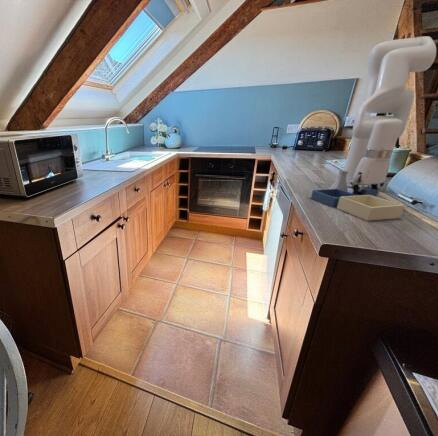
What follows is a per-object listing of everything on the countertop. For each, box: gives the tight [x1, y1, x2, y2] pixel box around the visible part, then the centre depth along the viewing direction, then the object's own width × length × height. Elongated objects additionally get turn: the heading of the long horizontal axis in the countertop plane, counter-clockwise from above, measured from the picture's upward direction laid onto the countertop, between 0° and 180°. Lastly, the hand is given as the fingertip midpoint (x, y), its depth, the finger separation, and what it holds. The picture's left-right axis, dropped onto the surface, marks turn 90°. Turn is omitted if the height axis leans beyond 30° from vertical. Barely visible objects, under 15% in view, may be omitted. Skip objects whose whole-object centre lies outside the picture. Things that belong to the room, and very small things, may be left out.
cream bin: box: [336, 195, 405, 221], centre depth 86 cm, size 12×12×5 cm
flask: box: [328, 169, 349, 192], centre depth 107 cm, size 7×7×10 cm
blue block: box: [361, 186, 379, 197], centre depth 98 cm, size 5×5×5 cm
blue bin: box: [310, 188, 358, 208], centre depth 98 cm, size 11×11×4 cm
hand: (362, 199), depth 99 cm, fingers open, 6 cm apart
